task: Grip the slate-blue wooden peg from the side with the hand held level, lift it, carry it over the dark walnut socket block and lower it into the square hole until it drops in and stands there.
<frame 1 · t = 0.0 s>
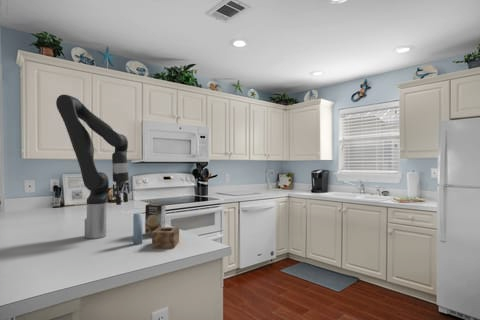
hand: (122, 203, 146), 17 cm above the counter, tool pointing down, fingers open, 8 cm apart
coffee box: (155, 234, 150), on the counter
peg: (137, 243, 133), on the counter
socket block: (166, 244, 131), on the counter
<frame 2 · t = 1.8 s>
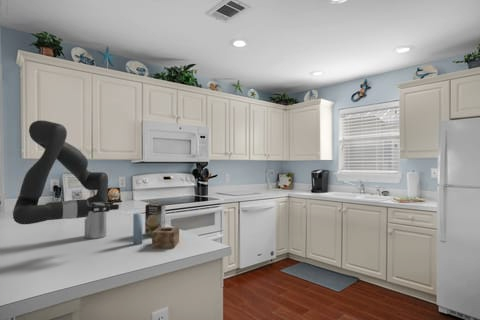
hand: (115, 205, 127), 19 cm above the counter, tool horizontal, fingers open, 8 cm apart
nothing on the counter moved.
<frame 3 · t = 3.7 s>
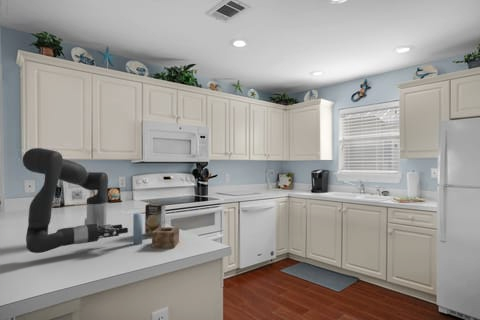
hand: (124, 228, 129), 8 cm above the counter, tool horizontal, fingers open, 8 cm apart
nothing on the counter moved.
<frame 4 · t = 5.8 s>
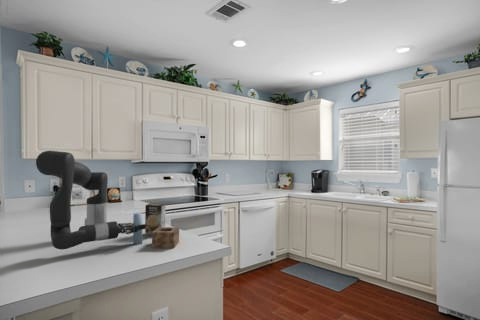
hand: (143, 225, 135), 8 cm above the counter, tool horizontal, fingers closed on peg, 4 cm apart
peg: (137, 243, 133), on the counter, touching gripper
everything else where it was.
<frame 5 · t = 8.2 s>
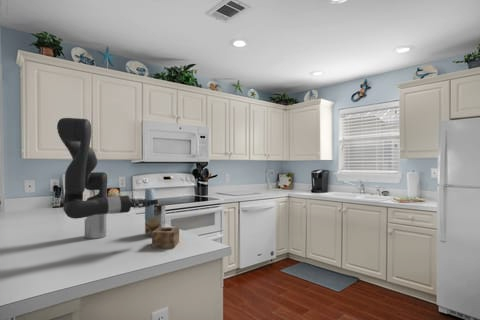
hand: (155, 201, 134), 20 cm above the counter, tool horizontal, fingers closed on peg, 4 cm apart
peg: (149, 219, 132), point 12 cm above the counter, touching gripper
everything else where it was.
when the fingers open (13 cm above the counter, at t = 10.6 s): peg drops 3 cm, resting on socket block.
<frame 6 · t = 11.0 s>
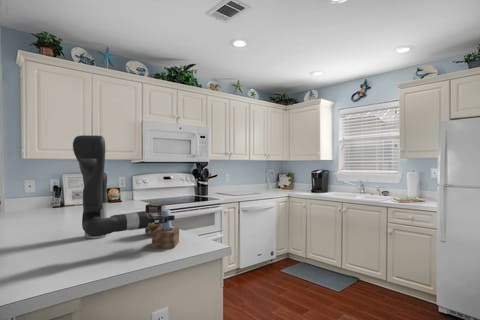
hand: (170, 216, 133), 13 cm above the counter, tool horizontal, fingers open, 7 cm apart
peg: (165, 240, 131), point 2 cm above the counter, touching socket block
everything else where it was.
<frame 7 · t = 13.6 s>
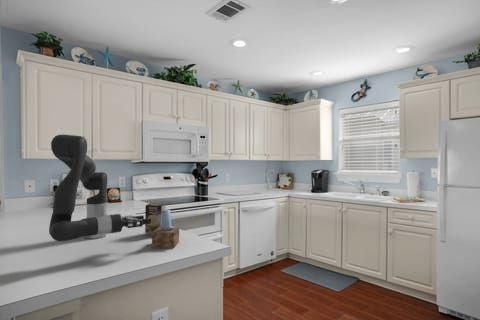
hand: (147, 219, 126), 13 cm above the counter, tool horizontal, fingers open, 8 cm apart
nothing on the counter moved.
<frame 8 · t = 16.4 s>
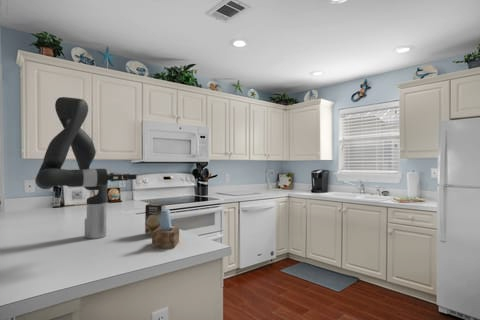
hand: (133, 176, 129), 32 cm above the counter, tool horizontal, fingers open, 8 cm apart
nothing on the counter moved.
at the end: peg 0.1 cm off-centre on the socket block, point 2.0 cm above the socket block's base; peg tilted 1°; the gripper is holding nothing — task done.
